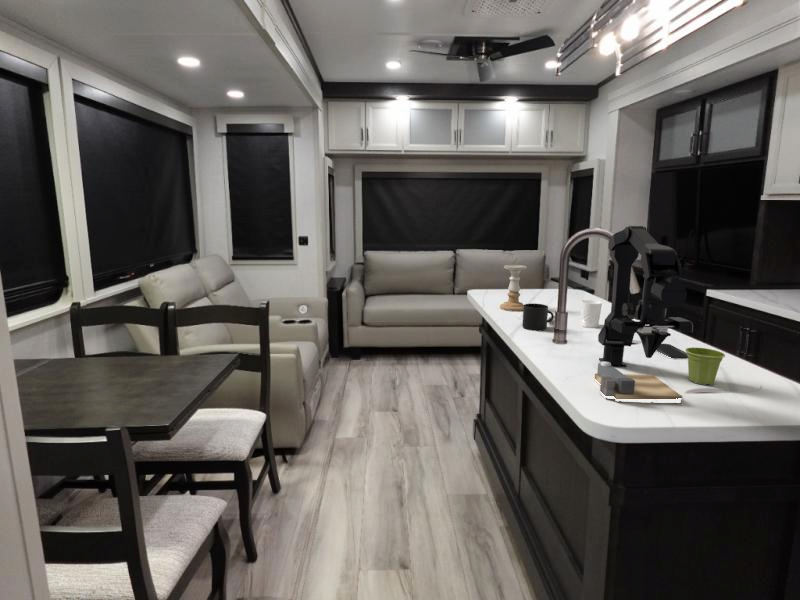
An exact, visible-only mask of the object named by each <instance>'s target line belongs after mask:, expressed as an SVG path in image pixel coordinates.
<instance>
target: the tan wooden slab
mask: <svg viewBox="0 0 800 600" xmlns="http://www.w3.org/2000/svg"><path fill="white" fill-rule="evenodd" d="M623 374H624V375H625V376H626V377H628V378H632V379H633V380H635V387H634V394H620V393H619V392H618V391H617V390H616V389H615V388H614V387H615V380H614V379H613V378H612V377H610V376H609V375H601V376H600V375H598V374H597V373H594V379H596V380H597V381H598V382H599V383H600V384H601V385H599V387H600V388H599V392H600V391H601V392H602V393H603V394H604V395H605V396H614V397H615V398H616V399H676V398H677V399H678V398H682V399H683V395H682V394H680V393H679V392H678V391H676V390H674V389H673V388H672V387H670V386H669V385H667V384H666V383H665V382H663V381H662V380H661V379H660V378H657V376H655V375H654V374H641V373H640V374H637V373H636V374H634V373H631V374H629V373H627V374H626V373H623Z"/></svg>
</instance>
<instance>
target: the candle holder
mask: <svg viewBox="0 0 800 600" xmlns="http://www.w3.org/2000/svg"><path fill="white" fill-rule="evenodd" d="M503 269H505V270H509V272H510V274H511V275H510V277H509V278H508V279H509V280H510V281H509V285H508V288H507V289H508V293H507V296H508V301H504V302H502V303H501V304H499V305H500V306H499V308H500V309H501V310H503V309H504V310H503V311H507V310H512V311H511V312H521V311H520V310H523V307H524V304H523V302H520V301H519V298H520V296H521V293H520V291H521V286H520V280H521V278H520V276H519V275H520V273H521V272H522V270H527V269H528V267H527V266H526V265H523V264H521V265H520V264H505V265H504V266H503Z"/></svg>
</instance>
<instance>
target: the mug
mask: <svg viewBox="0 0 800 600" xmlns="http://www.w3.org/2000/svg"><path fill="white" fill-rule="evenodd" d="M523 305H524V307H523V311H522V328H523V329H525V330H528V331H534V330H536V331H538V332H539V330H541V331H545V330H547V329H548V323H551V322H552V321H553V320H554V313H553V312H552V311H550V310H549V306H548V305H547V304H543V303H542V304H541V303H525V304H523ZM548 314H550V316H551V318H550V319H548V317H549V316H548Z"/></svg>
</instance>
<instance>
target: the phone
mask: <svg viewBox="0 0 800 600" xmlns="http://www.w3.org/2000/svg"><path fill="white" fill-rule="evenodd" d="M657 351H659V352H660V353H659V352H658V353H659V354H661V353H662V354H664V355H666V356H668V357H671V358H688V356H687V352H686V351H684V350H683V349H680V348H678V347H677V346H674V345H672V344H670V343H661V344H660V346H659V347H658V348H657ZM657 351H656V352H657ZM662 354H661V355H662ZM664 355H663V356H664ZM666 356H665V357H666ZM668 357H667V358H668ZM671 358H670V359H671Z"/></svg>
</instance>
